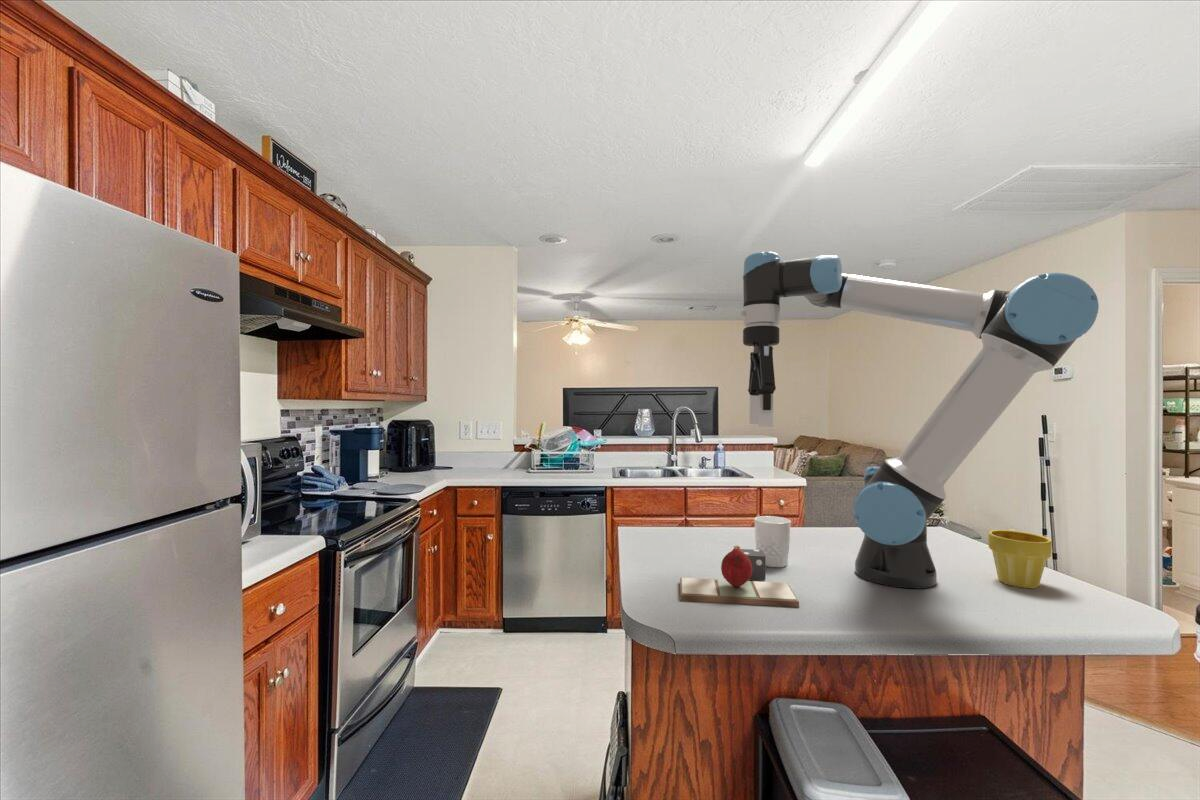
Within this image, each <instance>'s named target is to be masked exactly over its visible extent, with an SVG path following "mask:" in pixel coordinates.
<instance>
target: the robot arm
mask: <svg viewBox="0 0 1200 800" xmlns="http://www.w3.org/2000/svg"><path fill="white" fill-rule="evenodd" d="M742 281H743V285H742V287H743V289H742V290H743V293H742V294H743V311H741V312H740V316H741V317H743V322H742V323H743V326H745V327H744V328H743V330H742V334H743V335H742V344H743V346H747V347H753V351H751V352H750V354H749V355H750V357H749V359H750V365H749V379H748V389H747V391H748V393H749V425H758V427H759V428H760V427H762V428H773V427H774V392H775V391H776V388H777V387H776V380H775V369H774V357H773V356H774V355H773V354H774V353H773V350H774V348H773V346H777V345H779V344H780V328H779V325H780V323H781V322H780V321H781V316H780V315H781V314H780V313H781V303H780V300H781V298H790V297H804V298H805V299H807V300H808V302H809V303H810V304H811V305H813V306H817V307H819V308H820V307H821V308H828V307H831V308H837V309H844V310H850V311H855V312H861V313H866V314H871V315H877V316H883V317H889V318H893V319H899V320H905V321H910V322H913V323H914V322H915V323H921V324H926V325H930V326H938V327H942V328H948V329H954V330H955V329H956V330H958V331H965V332H971V333H972V334H973V335H974V337H976V339H980V340H981V342H982V348H981V350H980V351H979V352H978V353H977V355H976V356H975V357H974V359H973V360H972V361H971V362H970V364H969V365H968V366H967V367H966V369H965V371H964V372H963V373H962V374H961V375H960V377H959V378H958V379H957V381H956V382H955V384H954V385H953V386H952V387H951V388H950V390H949V391H948V392H947V394H946V395H945V396H944V397H943V399H942V400H941V402H940V403H939V404H938V405H937V406H936V408H935V409H934V410H933V412H932V413H931V415H929V417H928V418H927V419H926V421H925V423H924V424H922V426H921V427H920V429H919V430H918V431H917V433H916V434H915V435H914V436H913V438H912V439H911V441H909V443H908V444H907V446H906V447H905V448H904V449H903V451H902V452H901V453H900V455H899V456H897V457H892V458H891V457H890V458H885V460H884V461H883V462H882V463H881V465H880V466H868V467H866V468H865V469H864V476H863V482H864V486H863V487H862V488H861V489H860V490H859V491H858V492H857V494H856V495H855V498H854V501H853V509H852V510H853V516H854V520H855V522H856V525H857V526H858V527H859V529H860V530H861V532H862V533H863V540H862V541H861V545H860V547H859V551H858V553H857V555H856V558H855V560H854V561H855V563H854V572H855V574H856V575H857V576H859V577H860V578H862V579H864V580H868V581H870V582H873V583H877V584H880V585H884V586H890V587H897V588H905V589H925V588H931V587H934V586H936V585H937V581H938V579H937V578H938V577H937V570H936V567H935V564H934V561H933V557H932V555H931V553H930V550H929V547H928V536H927V535H928V521H929V519H930V518H931V517H932V515H933V514H934V512H935V511H936V510H937V509H938V508H939V506H940V505H942V503H943V502H944V501H945V500H946V498H947V496H946V491H945V484H946V483H947V482H948V480H949V479H950V478H951V477H952V475H953V474H954V473H955V472H956V471H957V469H958V468H959V467H960V466H961V464H962V463H963V462H964V461H965V460H966V458H967V457H968V456H969V454H970V453H971V452H972V451H973V450H974V448H976V446H977V445H978V443H979V442H980V441H981V440H982V439H983V438H984V436H985V435H986V434H987V432H988V431H990V429H991V428H992V426H993V425H994V424H995V422H996V421H997V420H998V419H999V418H1000V417H1001V415H1002V414H1003V413H1004V412H1005V410H1006V409H1007V408H1008V407H1009V406H1010V404H1011V403H1012V402H1013V400H1015V398H1016V397H1017V395H1019V393H1020V392H1021V390H1022V389H1023V388H1024V387H1025V386H1026V385H1027V383H1028V382H1029V381H1030V380H1031V378H1032V377H1033V376H1034V375H1035V374H1037V373H1039V372H1044V371H1050V370H1052V369H1053V368H1054V367H1055V366H1056V364H1057V363H1058V362H1059V361H1060V360H1061V359H1062V357H1063V356H1064V355H1065V354H1066V353H1067V352H1068V350H1069V349H1070V348H1071V346H1072V345H1073V344H1074V343H1075V341H1076V340H1077V339H1079V338H1081V337H1082V336H1083V335H1085V334H1086V333H1088V331H1089V330H1091V328H1092V327H1093V325H1094V323H1095V322H1096V319H1097V317H1098V313H1099V307H1100V306H1099V300H1098V299H1099V298H1098V296H1097V293H1096V292H1095V290H1094V289H1093V287H1091V285H1090V284H1089V283H1088V282H1086V281H1085V280H1083V279H1081V278H1080V277H1078V276H1075V275H1072V274H1070V273H1069V274H1068V273H1062V272H1049V273H1043V274H1042V273H1041V274H1038V275H1035V276H1032V277H1030V278H1028V279H1026V280H1025V281H1022V282H1020V284H1019V285H1017V286H1015V287H1014V288H1013V289H1012V290H1011V291H1009V290H999V289H992V290H990V291H988V292H987V293H982V292H975V291H967V290H961V289H955V288H947V287H941V286H934V285H926V284H919V283H912V282H906V281H899V280H892V279H884V278H878V277H870V276H865V275H864V276H863V275H857V274H852V273H851V274H848V273H843V268H842V261H841V258H840V257H839V256H838V255H818V256H812V257H806V258H804V257H803V258H797V259H790V260H781V257H780V254H778V253H777V252H773V251H766V252H765V251H760V252H755V253H751V254H749V255H748V256H747V257H746V258H745V259H744V263H743V275H742Z"/></svg>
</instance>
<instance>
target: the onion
mask: <svg viewBox="0 0 1200 800" xmlns="http://www.w3.org/2000/svg"><path fill="white" fill-rule="evenodd" d="M740 549H741V546H739V545H736V544H735V545H734V546H733V549H732V550H731V551H729V552H728V553H727V554H725V556H724V557H723V558H722V561H721V566H720V569H721V571H720V572H721V575H722V576H723V578H724V580H726V581H727V582H728V583H730V584H731V585H732V586H733V587H735V588H739V587H740V586H741V585H743V584H745V583H746V582H747V581H750V580H751V579H750V577H751V576H752V564H751V562H750V560H749V558H748V557H747V555H746V554H744V553H743V552H742V551H740Z"/></svg>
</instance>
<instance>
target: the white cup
mask: <svg viewBox="0 0 1200 800" xmlns="http://www.w3.org/2000/svg"><path fill="white" fill-rule="evenodd" d="M791 524H792V522H791V519H789V518H786V517H783V516H781V517H780V516H776V515H775V516H773V515H761V516H756V517H754V537H755V538H754V539H755V550H762V551H763V553H764V555H765V567H769V568H784V567H787V566H788V565H789V553H790V541H791Z"/></svg>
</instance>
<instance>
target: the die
mask: <svg viewBox="0 0 1200 800" xmlns="http://www.w3.org/2000/svg"><path fill="white" fill-rule="evenodd" d="M740 551H742V552H743V553H744V554H746V555H747V557H748V558H749V560H750V562H751V564H752V576H751V577H750V579H749V580H751V581H766V566H765V555H764V553H763V551H762V550H756V549H752V548H751V549H750V548H740Z"/></svg>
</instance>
